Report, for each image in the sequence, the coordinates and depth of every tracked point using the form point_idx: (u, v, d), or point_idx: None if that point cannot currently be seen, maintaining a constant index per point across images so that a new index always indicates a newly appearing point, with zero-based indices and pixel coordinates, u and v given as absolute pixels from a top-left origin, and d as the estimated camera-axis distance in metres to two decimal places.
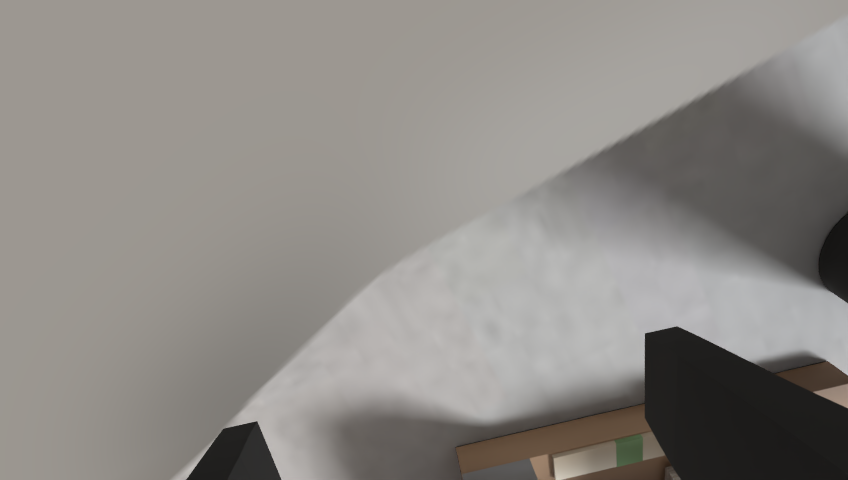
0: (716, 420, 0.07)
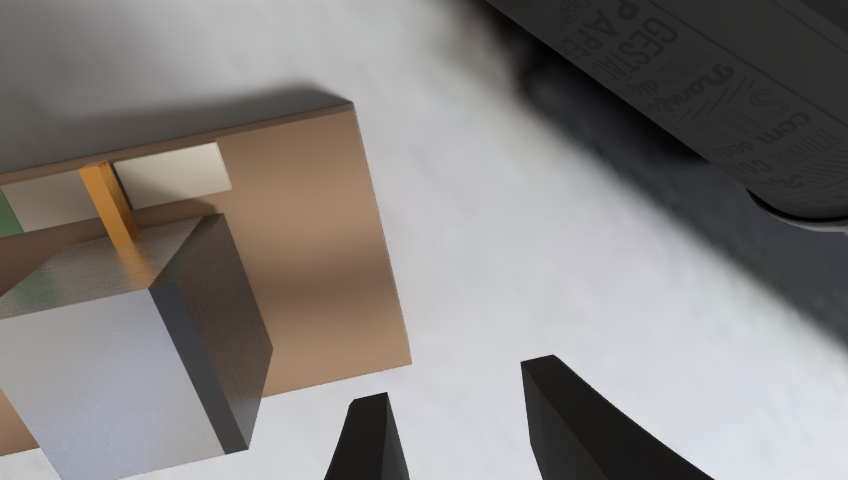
0: (566, 455, 0.07)
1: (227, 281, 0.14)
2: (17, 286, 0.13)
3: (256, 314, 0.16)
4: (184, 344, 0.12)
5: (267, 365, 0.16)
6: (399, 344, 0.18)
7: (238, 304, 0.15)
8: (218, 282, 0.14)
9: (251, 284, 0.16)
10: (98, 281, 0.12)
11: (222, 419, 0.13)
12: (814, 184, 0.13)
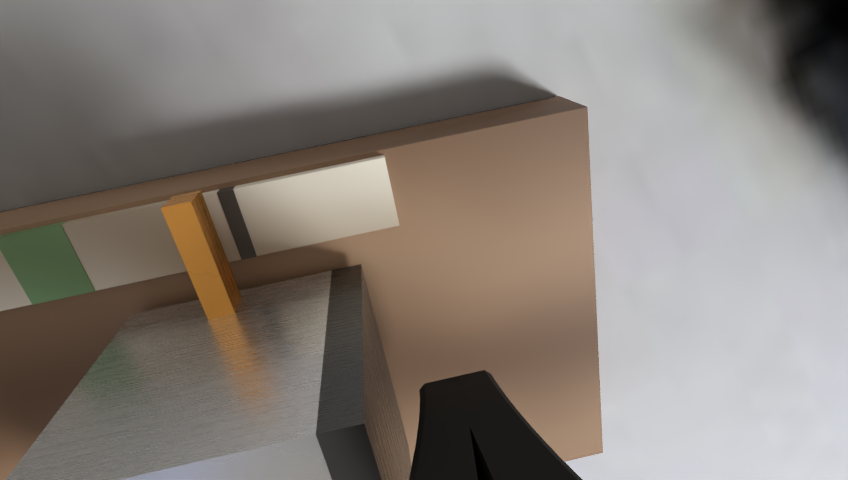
0: (482, 475, 0.07)
1: (381, 372, 0.09)
2: (69, 402, 0.08)
3: (396, 405, 0.11)
4: None
5: None
6: (591, 428, 0.13)
7: (389, 403, 0.10)
8: (378, 383, 0.09)
9: (407, 355, 0.12)
10: (211, 406, 0.07)
11: None
12: None
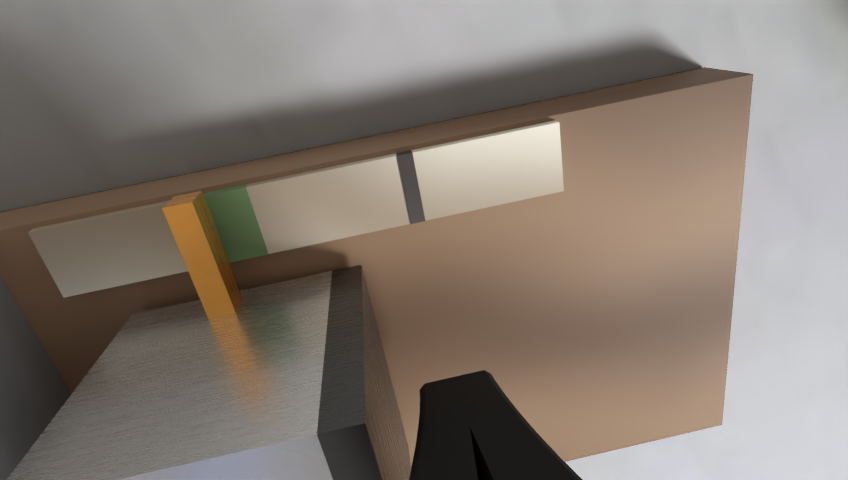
0: (482, 474, 0.07)
1: (380, 373, 0.09)
2: (71, 402, 0.08)
3: (396, 406, 0.11)
4: None
5: None
6: (714, 399, 0.13)
7: (389, 404, 0.10)
8: (378, 383, 0.09)
9: (550, 323, 0.12)
10: (213, 405, 0.07)
11: None
12: None
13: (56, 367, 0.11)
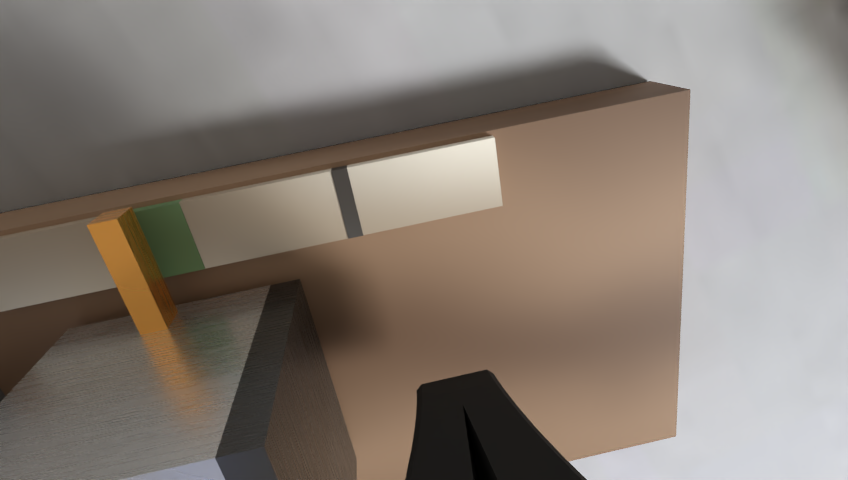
0: (485, 474, 0.07)
1: (313, 389, 0.09)
2: None
3: (340, 419, 0.11)
4: None
5: None
6: (667, 411, 0.13)
7: (325, 419, 0.10)
8: (306, 400, 0.09)
9: (496, 336, 0.12)
10: (123, 426, 0.07)
11: None
12: None
13: None
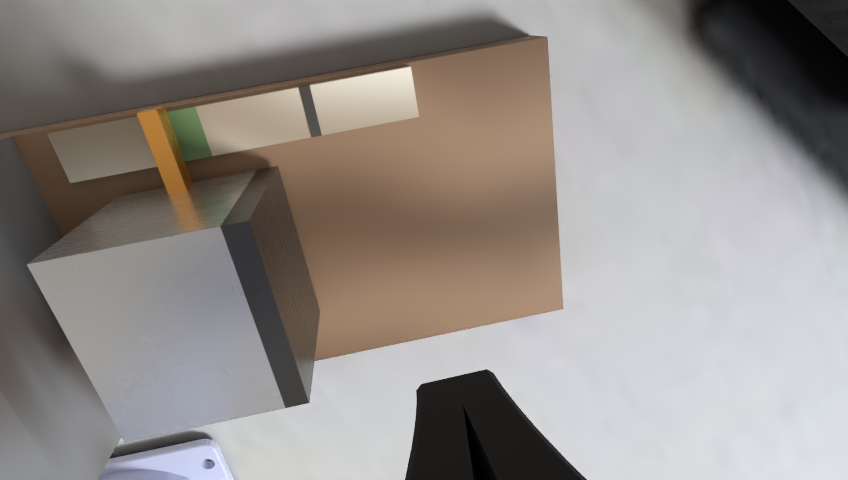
0: (484, 474, 0.07)
1: (285, 233, 0.14)
2: (76, 230, 0.12)
3: (306, 273, 0.16)
4: (252, 288, 0.11)
5: (316, 326, 0.16)
6: (554, 287, 0.18)
7: (293, 259, 0.14)
8: (278, 232, 0.13)
9: (421, 219, 0.16)
10: (163, 223, 0.12)
11: (285, 370, 0.12)
12: None
13: None
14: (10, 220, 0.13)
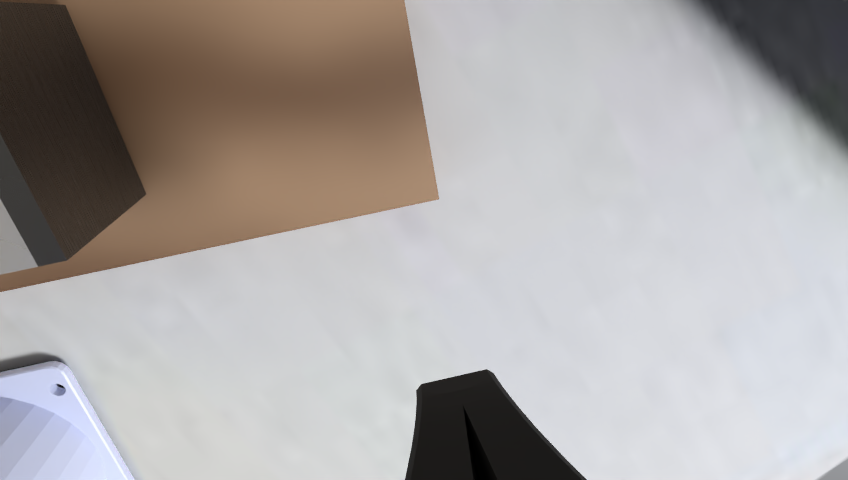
0: (485, 474, 0.07)
1: (59, 74, 0.12)
2: None
3: (116, 141, 0.14)
4: None
5: (129, 202, 0.14)
6: (425, 171, 0.16)
7: (78, 109, 0.12)
8: (36, 62, 0.11)
9: (255, 82, 0.14)
10: None
11: (26, 214, 0.10)
12: None
13: None
14: None
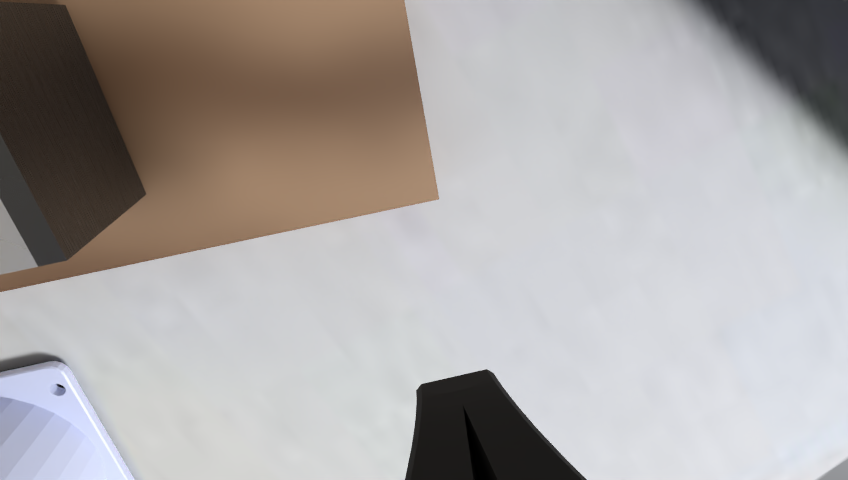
0: (485, 474, 0.07)
1: (59, 74, 0.12)
2: None
3: (116, 141, 0.14)
4: None
5: (129, 202, 0.14)
6: (425, 171, 0.16)
7: (78, 109, 0.12)
8: (36, 62, 0.11)
9: (255, 82, 0.14)
10: None
11: (26, 214, 0.10)
12: None
13: None
14: None
